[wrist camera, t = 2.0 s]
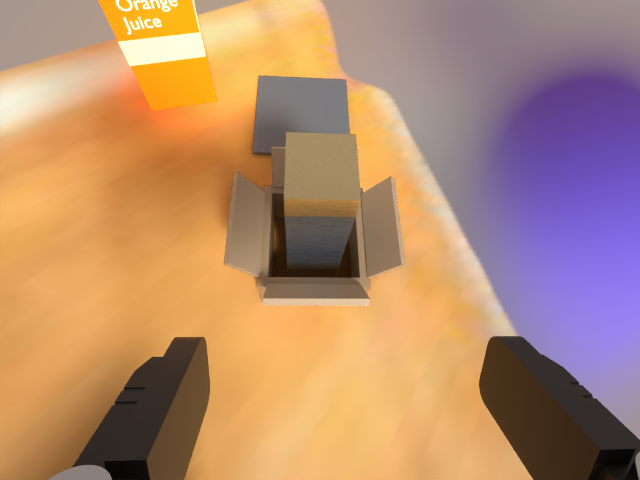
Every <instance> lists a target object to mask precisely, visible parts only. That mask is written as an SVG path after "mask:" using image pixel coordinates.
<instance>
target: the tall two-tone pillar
mask: <svg viewBox="0 0 640 480" xmlns="http://www.w3.org/2000/svg"><path fill="white" fill-rule="evenodd" d="M360 202H361V195H360V182H359V170H358V157H357V144H356V134H327V133H299V132H286V149H285V178H284V212H285V231H286V250H287V269H288V277H319V278H336V275H337V272H338V269H339V266H340V263H341V259H342V256H343V253H344V250H345V247H346V244H347V241H348V238H349V235H350V232H351V229H352V226H353V223H354V220H355V217H356V214H357V211H358V208H359V205H360Z"/></svg>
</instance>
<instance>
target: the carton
mask: <svg viewBox="0 0 640 480" xmlns="http://www.w3.org/2000/svg"><path fill="white" fill-rule="evenodd" d="M285 149H286V147H272V186H268V185H264V189H263V190H262V189H261V188H259V187H258V186H257V185H255V184H254V183H252V182H251V181H250V180H248V179H247V178H246V177H244V176H243V175H241V174H240V173H239V172H237V173H235V174H234V175H233V184H232V193H231V202H230V211H229V220H228V229H227V238H226V247H225V256H224V265H226V266H228V267H231V268H233V269H236V270H238V271H241V272H243V273H245V274H248V275H250V276H253V277H255V278H256V277H258V282H257V288H258V291H259V294H260V297H261V300H262V302H263V305H344V306H369V305H370V298H369V297H368V295H367V292H368V290H369V289H370V278H375V277H377V276H380V275H383V274H386V273H388V272H391V271H394V270H397V269H400V268H402V267H405V266H406V264H405V256H404V249H403V241H402V233H401V226H400V218H399V210H398V202H397V195H396V187H395V179H394V178H393V177H391V176H390V177H389V178H387V179H385V180H384V181H382V182H380V183H379V184H377V185H375V186H374V187H372V188H371V189H369V190H367V191H366V192H364V193H363V189H362V188H360V195H361V202H360V205H359V208H358V211H357V214H356V217H355V220H354V223H353V226H352V229H351V232H350V235H349V253H350V270H351V278H319V277H272V266H273V245H274V223H275V217H285V212H284V178H285ZM357 157H358V150H357Z"/></svg>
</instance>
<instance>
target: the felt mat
mask: <svg viewBox="0 0 640 480" xmlns="http://www.w3.org/2000/svg"><path fill="white" fill-rule="evenodd" d="M286 132H299V133H327V134H350V131H349V116H348V101H347V86H346V80H344V79H322V78H301V77H279V76H259V82H258V93H257V105H256V116H255V128H254V140H253V151H252V152H253V154H271V155H272V147H286Z"/></svg>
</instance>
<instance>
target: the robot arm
mask: <svg viewBox="0 0 640 480" xmlns="http://www.w3.org/2000/svg"><path fill="white" fill-rule="evenodd" d="M479 388H480V393H481V397H482V400H483V402H484V404H485V405H486V407H487V408H488V410H489V412H490V413H491V415H492V416H493V418H494V419H495V421H496V422H497V424H498V425H499V427H500V429H501V430H502V432H503V433H504V435H505V436H506V438H507V439H508V441H509V443H510V444H511V446H512V447H513V449H514V450H515V452H516V453H517V455H518V457H519V458H520V460H521V461H522V463H523V464H524V466H525V467H526V469H527V471H528V472H529V474H530V475H531V477H532V478H533V480H640V440H639V439H638V438H637V437H636V436H635V435H634V434H633V433H632V432H631V431H630V430H629V429H627V428H626V427H625V426H624V425H623V424H622V423H621V422H620V421H619V420H618V419H617V418H616V417H615V416H614V415H613V414H612V413H611V412H610V411H609V410H608V409H606V408H605V407H604V406H603V405H602V404H601V403H600V402H599V401H598V400H597V399H593V397H592V394H591V393H590V392H589V391H587V390H586V389H585V388H584V387H583V386H582V385H579V382H578V381H577V380H576V379H575V378H574V377H573V376H572V375H571V374H570V373H569V372H567V371H566V370H565V369H564V368H563V367H562V366H560V365H559V364H557V363H555V362H554V361H552V360H550V359H549V358H547V357H546V356H544V355H541V354H540V353H539V352H537V350H536V349H535V348H534V347H533V346H532V345H530V343H529V342H527V340H525V339H524V338H523V337H520V336H494V337H492V338H490V340H489V342H488V345H487V350H486V354H485V358H484V363H483V367H482V371H481V375H480V380H479ZM209 394H210V378H209V367H208V356H207V345H206V340H205V338H204V337H176V338H174V339H173V341H172V342H171V344H170V346H169V348H168V349H167V351H166V353H165V355H164V356H163V357H152V358H150V359H149V360H148V361H147V362H145V363H144V364H143V365H142V366H140V367H139V368H138V369H137V370H136V371H135V372H134V373H133V375H132V376H131V378H130V379H129V381H128V382H127V384H126V386H125V387H124V391H122V392H121V393H120V395H119V396H118V398H117V399H116V401H115V405H113V406H112V407H111V409H110V410H109V412H108V413H107V415H106V416H105V418H104V419H103V421H102V422H101V424H100V425H99V427H98V429H97V430H96V432H95V433H94V435H93V436H92V438H91V439H90V441H89V442H88V444H87V445H86V447H85V449H84V450H83V452H82V453H81V455H80V456H79V458H78V459H77V461H76V462H75V464H74V465H73V467H72V468H70V469H67V470H65V471H63V472H60V473H58V474H56V475H55V476H53V477H51V478H50V479H48V480H184V478H185V475H186V472H187V469H188V465H189V462H190V459H191V456H192V453H193V450H194V447H195V444H196V440H197V437H198V434H199V431H200V428H201V425H202V422H203V419H204V415H205V412H206V409H207V406H208V401H209Z"/></svg>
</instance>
